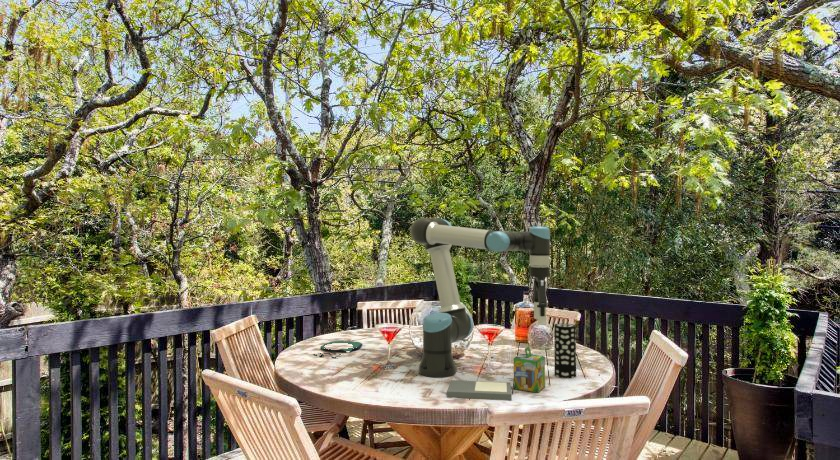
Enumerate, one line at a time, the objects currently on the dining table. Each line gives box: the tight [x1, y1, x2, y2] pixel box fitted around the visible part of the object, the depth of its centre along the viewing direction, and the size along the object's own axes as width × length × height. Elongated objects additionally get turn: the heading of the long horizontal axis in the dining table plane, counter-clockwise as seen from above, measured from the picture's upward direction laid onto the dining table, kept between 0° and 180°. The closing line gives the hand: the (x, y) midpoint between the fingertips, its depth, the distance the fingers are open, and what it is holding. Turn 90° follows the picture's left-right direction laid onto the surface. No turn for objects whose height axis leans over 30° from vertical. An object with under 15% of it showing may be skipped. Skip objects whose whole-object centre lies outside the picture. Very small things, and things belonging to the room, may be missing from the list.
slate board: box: [446, 379, 513, 401], centre depth 182 cm, size 22×14×2 cm, turn 81°
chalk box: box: [513, 346, 546, 393], centre depth 187 cm, size 9×9×15 cm
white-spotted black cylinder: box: [553, 322, 577, 379], centre depth 204 cm, size 8×8×20 cm
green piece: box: [320, 340, 363, 358], centre depth 248 cm, size 20×30×2 cm, turn 161°
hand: (539, 321), depth 197 cm, fingers open, 13 cm apart
